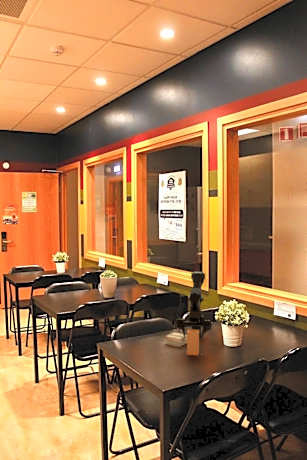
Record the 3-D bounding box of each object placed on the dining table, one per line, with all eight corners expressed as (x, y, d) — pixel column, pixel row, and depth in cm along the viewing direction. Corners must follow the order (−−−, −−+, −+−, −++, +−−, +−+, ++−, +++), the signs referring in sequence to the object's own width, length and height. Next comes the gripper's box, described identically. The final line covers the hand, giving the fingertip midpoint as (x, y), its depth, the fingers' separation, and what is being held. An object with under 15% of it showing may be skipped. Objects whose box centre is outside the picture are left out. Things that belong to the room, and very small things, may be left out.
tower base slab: (174, 340, 246) (174, 336, 246) (187, 343, 241) (187, 339, 241) (165, 344, 239) (165, 340, 239) (179, 347, 233) (179, 343, 233)
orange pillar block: (187, 351, 226) (188, 328, 226) (198, 351, 226) (199, 329, 225) (186, 354, 220) (187, 332, 220) (198, 355, 220) (198, 332, 219)
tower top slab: (174, 336, 246) (174, 332, 245) (187, 339, 240) (187, 335, 240) (166, 340, 238) (166, 336, 238) (179, 343, 233) (179, 338, 233)
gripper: (177, 303, 229) (174, 329, 218) (211, 305, 226) (211, 331, 216) (178, 314, 237) (175, 340, 226) (211, 316, 234) (211, 342, 224)
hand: (193, 338), depth 223 cm, fingers open, 9 cm apart
